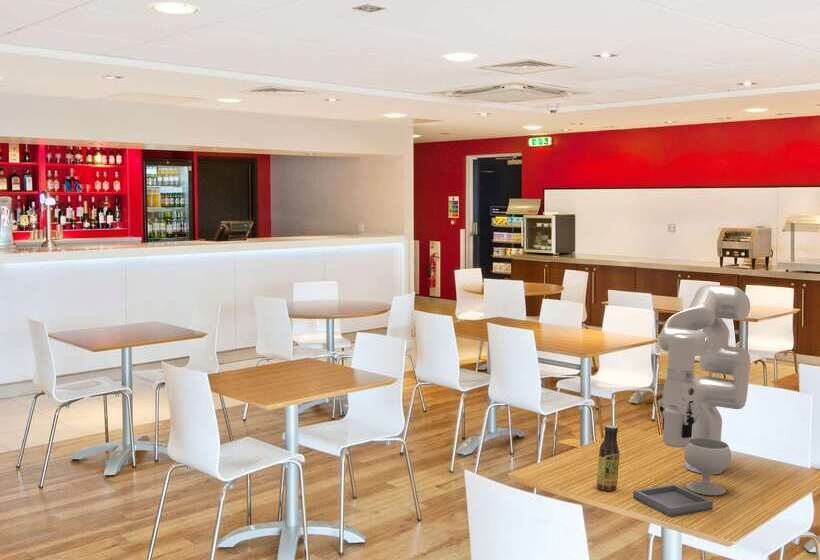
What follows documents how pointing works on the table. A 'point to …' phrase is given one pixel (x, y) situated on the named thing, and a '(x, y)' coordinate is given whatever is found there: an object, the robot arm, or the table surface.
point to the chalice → (707, 463)
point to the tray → (672, 500)
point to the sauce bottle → (608, 460)
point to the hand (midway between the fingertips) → (676, 433)
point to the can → (674, 428)
